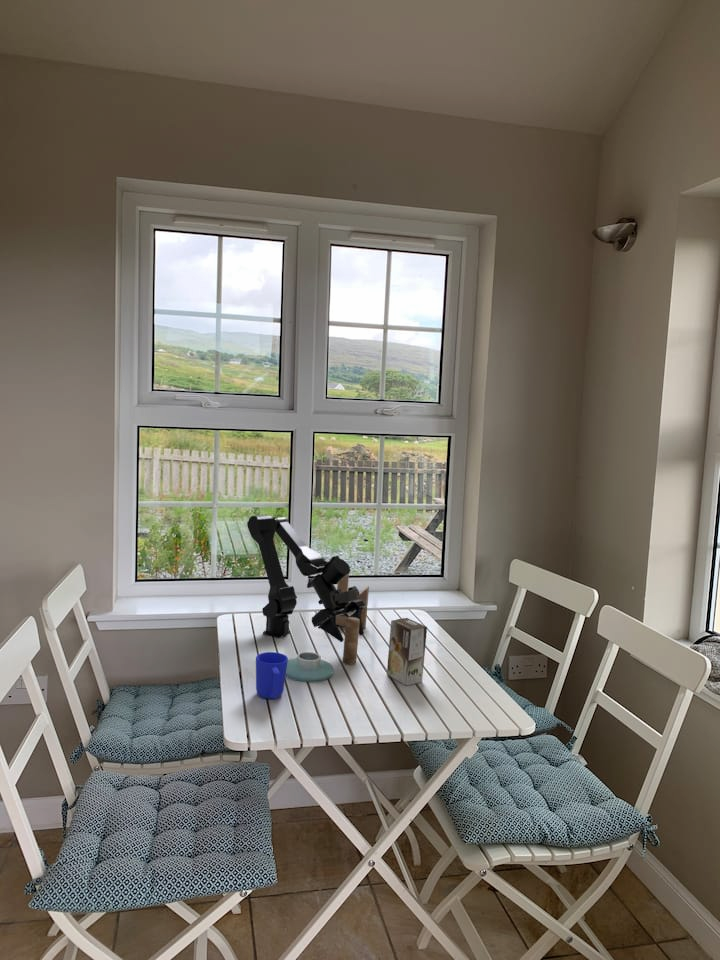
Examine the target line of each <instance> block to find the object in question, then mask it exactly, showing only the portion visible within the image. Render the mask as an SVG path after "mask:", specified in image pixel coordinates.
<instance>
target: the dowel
mask: <svg viewBox="0 0 720 960" xmlns="http://www.w3.org/2000/svg"><path fill="white" fill-rule="evenodd" d="M359 623H360V619H358V618H354V617H349V618H346V627H344V628H345V629H344V638H343V639H344V640H343V653H342V663H343V664H344V665H349V666H351V665H356V664H357V657H358V656H357V655H358V645H359V644H358V643H359V635H360V634H359Z"/></svg>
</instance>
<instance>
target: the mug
mask: <svg viewBox="0 0 720 960" xmlns="http://www.w3.org/2000/svg"><path fill="white" fill-rule="evenodd" d="M288 660H289V658H288V656H287V655H285V654H283V653H281V652H274V651H268V652H267V651H266V652H261V653H259V654H257V655H256V656H255V690H256V694H257V695H258V696H259V697H260V698H262V699H269V700H273V699H277V698H279V697H281V696H282V694H283V692H284V688H285V682H286V677H287V676H286V669H287V663H288Z"/></svg>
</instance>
